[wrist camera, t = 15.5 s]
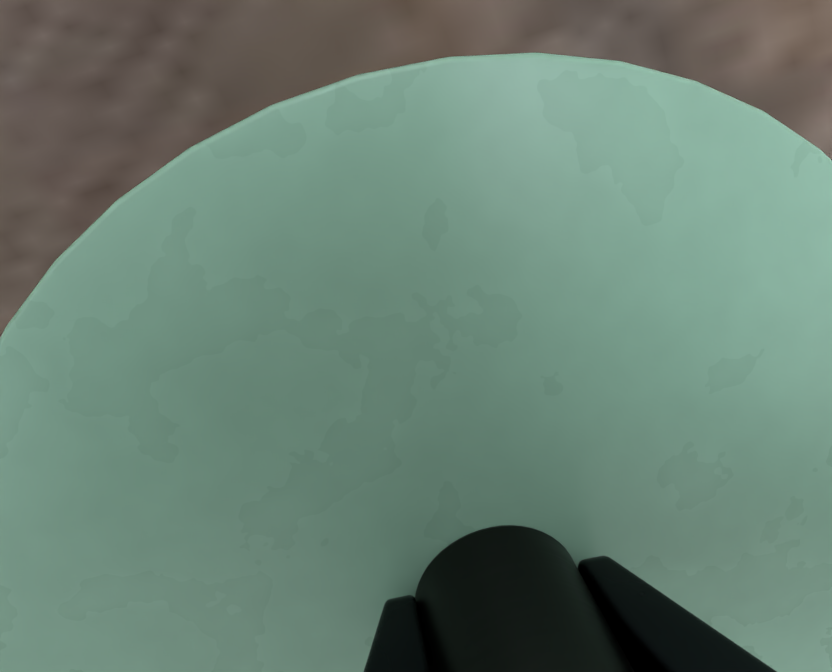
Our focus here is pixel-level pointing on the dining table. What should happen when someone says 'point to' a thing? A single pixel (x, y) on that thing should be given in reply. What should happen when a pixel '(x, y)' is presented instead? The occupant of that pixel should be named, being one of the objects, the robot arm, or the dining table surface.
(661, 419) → the pot lid
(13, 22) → the dining table surface
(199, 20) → the dining table surface
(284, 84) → the dining table surface
